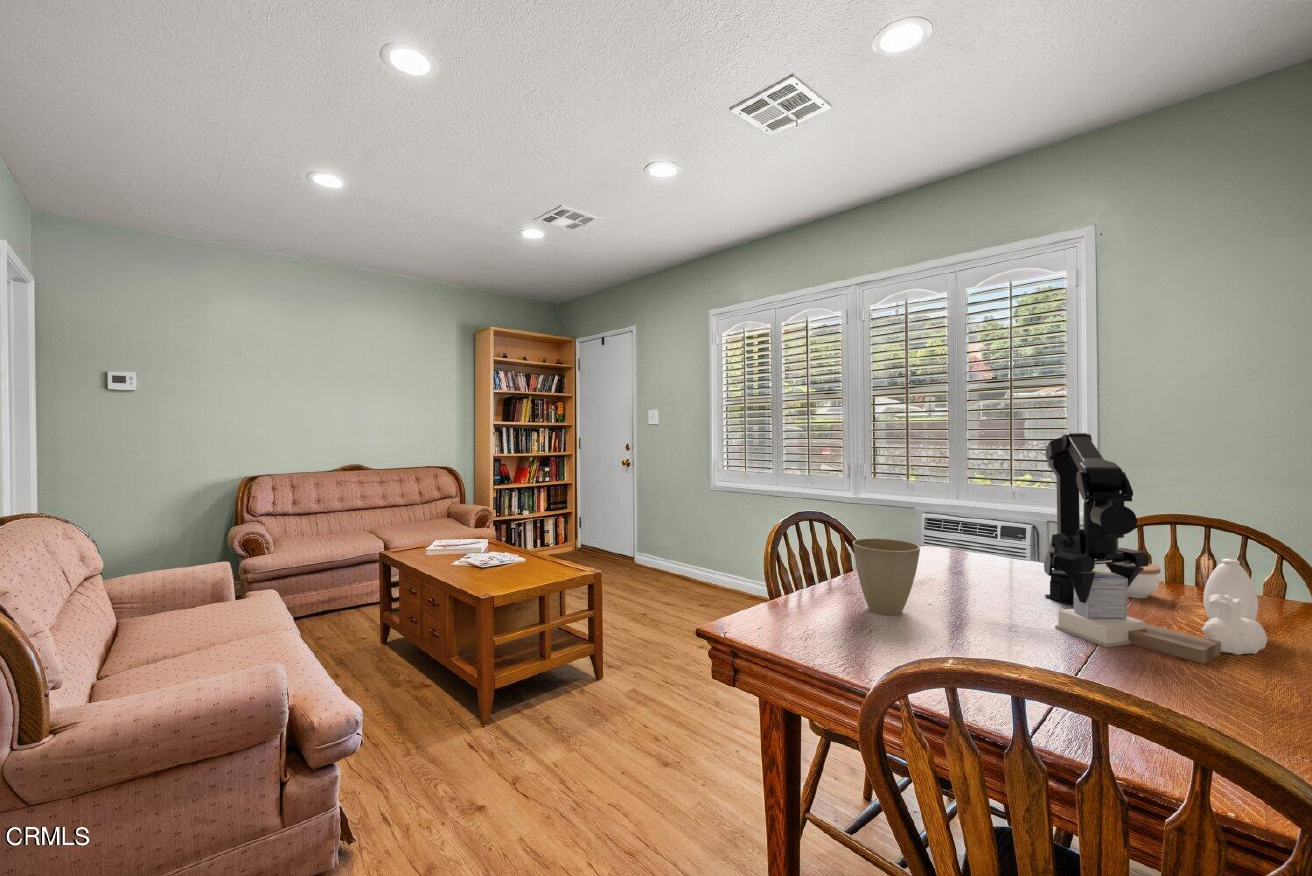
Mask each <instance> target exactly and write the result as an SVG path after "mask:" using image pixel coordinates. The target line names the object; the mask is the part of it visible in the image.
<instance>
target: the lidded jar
mask: <svg viewBox="0 0 1312 876" xmlns="http://www.w3.org/2000/svg"><path fill="white" fill-rule="evenodd" d="M1142 568H1144V570H1143V571H1141V572H1140V573H1139V574H1138V575H1137V577H1136V578H1135V579H1134V580H1133V582H1132V583H1131V584H1130V586H1129V587H1128V589H1127V598H1134V599H1147V598H1149V596H1151V595H1152V594H1154V593H1155V592H1156V591H1157V589H1158V587H1159V584H1160V578H1161V568H1160V567H1159V566H1157V565H1155V564H1152V563H1149V566H1145V567H1142ZM1105 572H1111V570H1110V569H1109V568H1108V566H1107V565H1106V564H1105Z"/></svg>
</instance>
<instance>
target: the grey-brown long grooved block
mask: <svg viewBox="0 0 1312 876" xmlns="http://www.w3.org/2000/svg"><path fill="white" fill-rule="evenodd" d="M1128 640H1129V641H1131V644H1130V645H1133V646H1137V647H1140V648H1144V649H1148V650H1151V651H1154V652H1159V653H1162V654H1166V655H1170V656H1173V657H1176V658H1180V659H1184V660H1187V661H1191V662H1194V663H1199V664H1202V665H1204V664H1206V663H1208V662H1210V661H1212V660H1213V659H1216V658H1217V657H1219V656H1221V653H1222V652H1221V642H1219V641H1215V640H1211V639H1206V637H1202V636H1198V635H1194V634H1193V635H1192V634H1189V633H1185V632H1182V631H1177V630H1173V629H1169V628H1166V627H1165V628H1164V627H1161V626H1156V625H1152V624H1150V623H1145V622H1144V629H1140V630H1132V631H1128Z"/></svg>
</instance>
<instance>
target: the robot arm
mask: <svg viewBox="0 0 1312 876" xmlns="http://www.w3.org/2000/svg"><path fill="white" fill-rule="evenodd" d="M1092 438H1093V437H1092V435H1091V434H1090V433H1086V432H1067V433H1063V434H1062V436H1060V437H1058V438H1056V439H1052V440H1050V441H1049V442H1048V444H1047V445H1046V446H1045V458H1046V460H1047V461H1048V467H1049V469H1050V470H1051V471H1052V473H1053V474H1054V476H1055V478H1056V523H1057V524H1056V526H1057V528H1056V529H1057V533H1054V534H1052V536H1051V542H1050V543H1049V551H1047V552H1046V556H1045V559H1044V562H1043V567H1044V568H1043V569H1044V571H1043V572H1044V573H1046V574H1047V576H1050V581H1049V593H1048V594H1044V597H1046V598H1048V599H1051V600H1055V601H1057V602H1060V603H1063V604H1065V605H1074V589H1075V591H1076V594H1077V596H1078V599H1079V601H1080V602H1082V603H1086V601H1087V599H1088V596H1089V593H1090V589H1091V586H1092V583H1093V579H1094V576H1095V573H1094V572H1095V571H1094V569H1095V565H1105V566H1106V565H1107V566H1108V568H1109V569H1110V570H1111V572H1112V573H1115V574H1118V575H1121V576H1123V577H1125V578H1127V579H1128V587H1129V586H1130V584H1131V583H1132V582H1133V580H1134V579H1135V578H1136V577H1137V575H1138V574H1139V573H1140V572H1141V571H1143V570H1144V568H1142V567H1145V566H1149V564H1150V561H1149V560H1150V559H1149V556H1148V555H1147V553H1145V551H1141V550H1137V549H1136V550H1135V549H1131V548H1126V547H1119V539H1124V538H1125V535H1127V534H1130V533H1131V532H1133V531H1134V530H1135V528H1136V527H1137V525H1138V517H1137V516H1136V513H1135V512H1134V511H1133V510H1132V509H1131V508H1129V507H1127V506H1125V502H1133V496H1134V490H1133V488H1132V485H1131V483H1130V481H1129V477H1127V474H1126V472H1125V471H1123V469H1122V467H1120V466H1119V465H1118V464H1116V463H1115V462H1113V461H1109V460H1106V459H1105V458H1104V457H1103V456H1102V454H1101V453H1100V451H1099V450H1098V449H1097V447H1096V446H1095V444H1094V443H1093V440H1092ZM1080 497H1081V499H1083V511H1082V512H1083V513H1082V516H1083V518H1082V522H1083V528H1081V527H1080V526H1081V525H1080V521H1081V520H1080V517H1081V516H1080ZM1127 589H1128V588H1127Z"/></svg>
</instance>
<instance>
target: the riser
mask: <svg viewBox="0 0 1312 876" xmlns="http://www.w3.org/2000/svg"><path fill="white" fill-rule="evenodd" d="M1057 611H1058V617H1057V619H1058V623H1057V624H1055V625H1054V628H1055V629H1057V630H1059V631H1062V632H1065V633H1068V634H1069V635H1073V636H1076V637H1077V638H1080V639H1083V640H1086V641H1089V642H1091V643H1093V644H1096V645H1100V647H1101V646H1102V647H1105V648H1109V647H1110V648H1112V647H1118V646H1125V645H1126V646H1127V645H1132V644H1131V641H1129V640H1128V631H1132V630H1140V629H1144V623H1145V621H1144V620H1141V619H1139V618H1138V619H1137V618H1134V617H1131V616H1128V615H1127V618H1126V619H1125V618H1085V617H1083V616H1081V615H1079V614H1078V613H1076V612H1075V611H1074V608H1069V609H1068V608H1066V609H1058V610H1057Z"/></svg>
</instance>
